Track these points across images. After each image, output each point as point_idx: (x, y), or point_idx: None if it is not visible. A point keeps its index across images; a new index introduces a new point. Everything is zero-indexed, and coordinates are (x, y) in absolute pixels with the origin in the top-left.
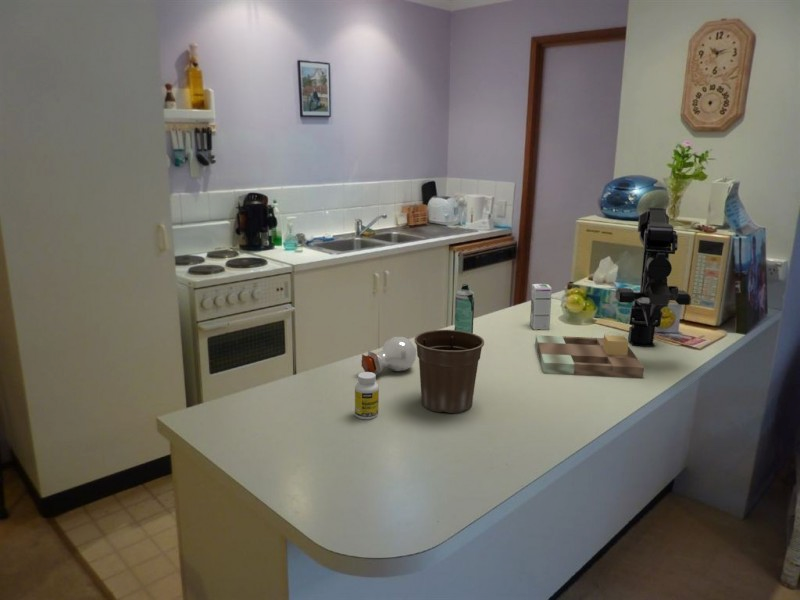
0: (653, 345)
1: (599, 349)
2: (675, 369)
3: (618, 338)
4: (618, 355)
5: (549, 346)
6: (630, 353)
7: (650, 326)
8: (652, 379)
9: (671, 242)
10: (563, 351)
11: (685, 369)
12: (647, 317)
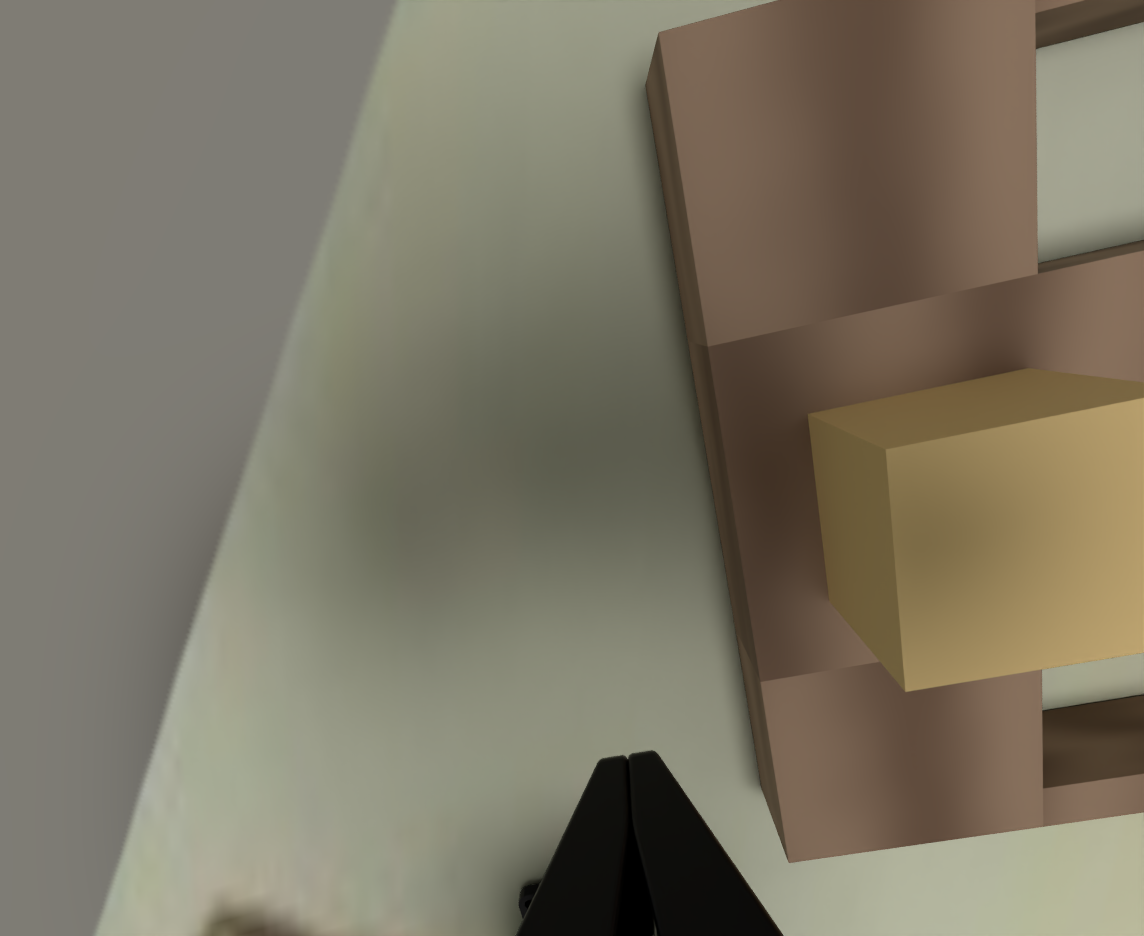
0: (527, 892)
1: None
2: (365, 445)
3: (1007, 548)
4: (902, 376)
5: None
6: (766, 483)
7: (608, 757)
8: (557, 89)
9: None
10: None
11: (289, 474)
12: (738, 910)
